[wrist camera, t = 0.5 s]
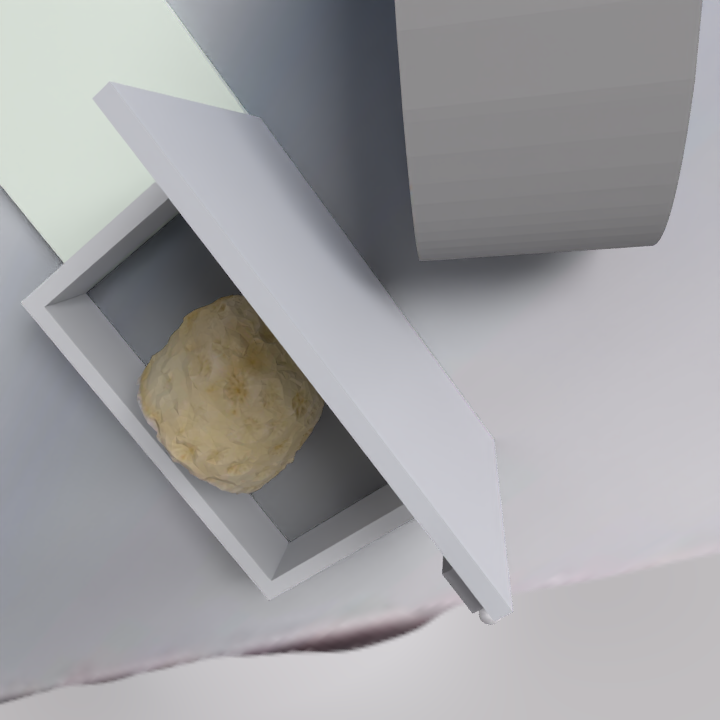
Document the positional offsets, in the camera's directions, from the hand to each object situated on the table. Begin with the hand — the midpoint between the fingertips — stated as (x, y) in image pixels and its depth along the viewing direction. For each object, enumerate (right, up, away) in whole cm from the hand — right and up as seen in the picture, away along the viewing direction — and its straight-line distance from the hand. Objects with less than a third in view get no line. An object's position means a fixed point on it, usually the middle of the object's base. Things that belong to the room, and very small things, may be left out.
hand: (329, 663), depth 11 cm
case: (-5, +5, +27) cm, 28 cm away
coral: (-5, +5, +27) cm, 28 cm away
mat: (-14, +19, +24) cm, 34 cm away
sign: (+8, +21, +20) cm, 30 cm away
